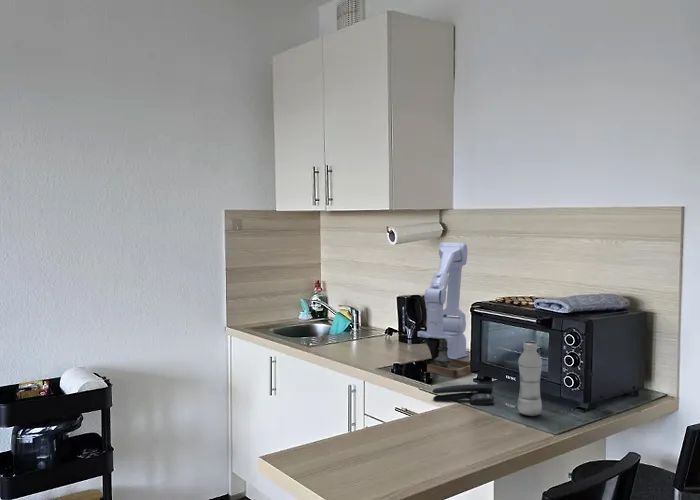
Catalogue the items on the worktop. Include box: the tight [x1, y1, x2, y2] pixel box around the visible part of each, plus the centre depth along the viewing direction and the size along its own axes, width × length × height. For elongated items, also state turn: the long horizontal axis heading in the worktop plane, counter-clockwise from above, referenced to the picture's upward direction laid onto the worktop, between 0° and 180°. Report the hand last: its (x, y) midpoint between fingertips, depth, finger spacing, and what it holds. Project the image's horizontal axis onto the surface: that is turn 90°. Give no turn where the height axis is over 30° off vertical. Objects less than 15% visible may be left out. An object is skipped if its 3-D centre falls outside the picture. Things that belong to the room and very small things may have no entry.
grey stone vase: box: [434, 338, 451, 369], centre depth 222 cm, size 6×6×12 cm
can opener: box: [432, 382, 495, 406], centre depth 185 cm, size 18×7×6 cm, turn 81°
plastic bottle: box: [517, 340, 543, 417], centre depth 171 cm, size 6×7×20 cm
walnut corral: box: [426, 358, 472, 379], centre depth 220 cm, size 14×12×2 cm
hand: (434, 359), depth 225 cm, fingers closed
